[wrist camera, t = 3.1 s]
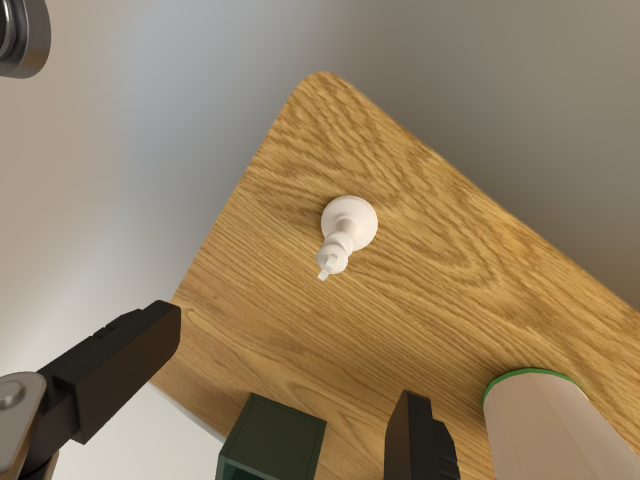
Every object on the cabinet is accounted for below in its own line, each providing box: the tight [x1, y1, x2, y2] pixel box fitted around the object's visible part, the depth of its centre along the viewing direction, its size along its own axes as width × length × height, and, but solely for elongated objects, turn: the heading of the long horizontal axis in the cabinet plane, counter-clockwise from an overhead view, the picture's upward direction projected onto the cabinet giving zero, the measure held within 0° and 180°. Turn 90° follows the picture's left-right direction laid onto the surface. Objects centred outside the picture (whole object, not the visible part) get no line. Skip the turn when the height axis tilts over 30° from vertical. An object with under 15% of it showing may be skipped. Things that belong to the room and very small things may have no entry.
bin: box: [215, 393, 327, 480], centre depth 34 cm, size 10×10×8 cm
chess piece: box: [316, 195, 378, 281], centre depth 21 cm, size 5×5×10 cm
